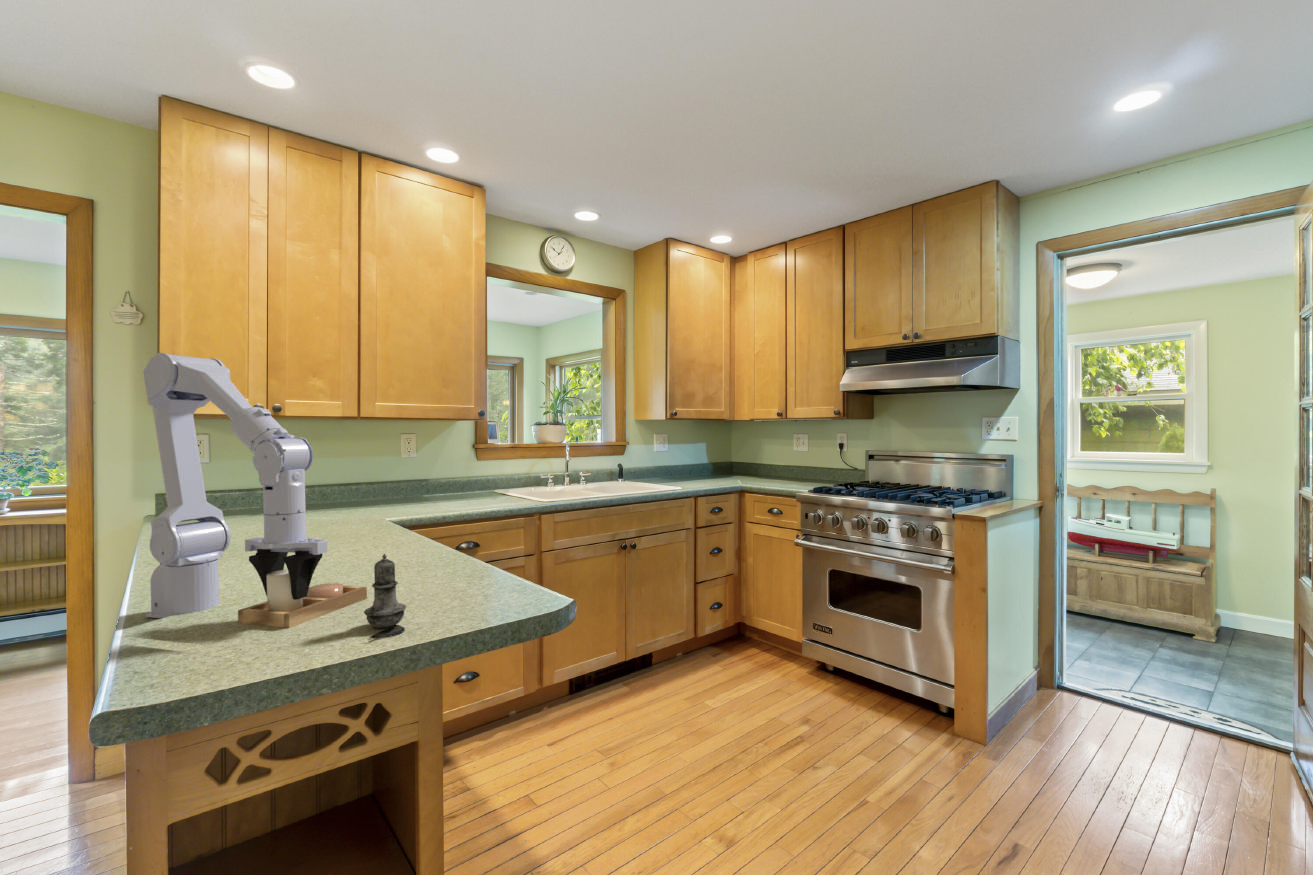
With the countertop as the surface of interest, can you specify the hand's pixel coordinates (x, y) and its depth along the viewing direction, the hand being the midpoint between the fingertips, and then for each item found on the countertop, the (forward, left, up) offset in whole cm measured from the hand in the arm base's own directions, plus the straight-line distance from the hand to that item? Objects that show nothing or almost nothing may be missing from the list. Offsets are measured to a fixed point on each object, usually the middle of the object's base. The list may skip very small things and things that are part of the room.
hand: (286, 596), depth 95 cm
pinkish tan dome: (0, +7, -3) cm, 8 cm away
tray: (0, +4, -4) cm, 6 cm away
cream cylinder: (0, 0, -2) cm, 2 cm away
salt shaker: (+19, 0, -4) cm, 20 cm away
